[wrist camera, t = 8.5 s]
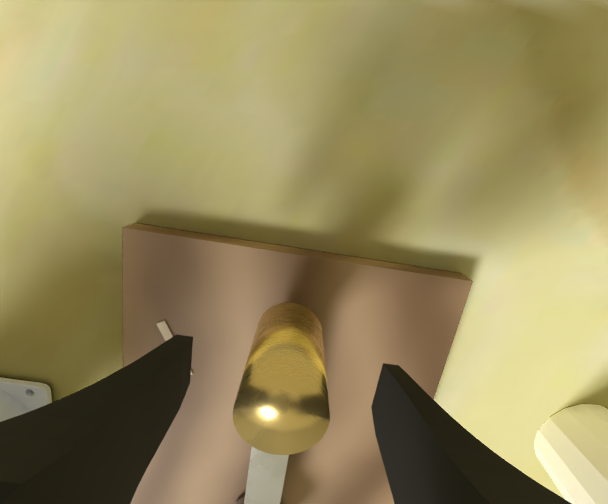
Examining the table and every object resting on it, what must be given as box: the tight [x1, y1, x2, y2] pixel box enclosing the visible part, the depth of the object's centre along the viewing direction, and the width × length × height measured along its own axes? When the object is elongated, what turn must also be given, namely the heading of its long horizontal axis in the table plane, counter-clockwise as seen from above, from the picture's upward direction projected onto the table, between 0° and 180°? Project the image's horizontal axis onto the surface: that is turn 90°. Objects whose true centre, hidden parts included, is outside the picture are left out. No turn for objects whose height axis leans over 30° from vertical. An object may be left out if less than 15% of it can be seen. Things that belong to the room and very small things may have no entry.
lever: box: [233, 302, 330, 504], centre depth 15 cm, size 4×18×7 cm, turn 171°
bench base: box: [122, 223, 473, 504], centre depth 20 cm, size 18×22×1 cm
